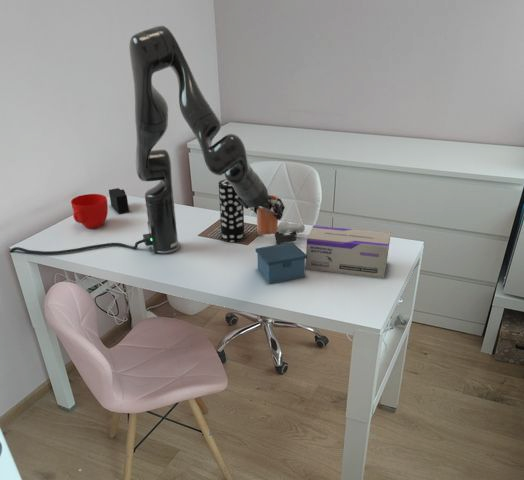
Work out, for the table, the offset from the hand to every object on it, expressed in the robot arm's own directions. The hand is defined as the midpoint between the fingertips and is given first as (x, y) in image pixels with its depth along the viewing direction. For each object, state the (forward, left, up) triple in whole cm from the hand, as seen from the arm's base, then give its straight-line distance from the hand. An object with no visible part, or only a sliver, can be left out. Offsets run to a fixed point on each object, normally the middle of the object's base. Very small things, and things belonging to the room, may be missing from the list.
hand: (270, 215), depth 164 cm
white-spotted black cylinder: (-3, +29, -19) cm, 35 cm away
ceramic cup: (-50, +59, -19) cm, 80 cm away
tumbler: (-1, -1, -4) cm, 5 cm away
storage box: (+2, -4, -18) cm, 19 cm away
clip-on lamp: (+12, +22, -19) cm, 31 cm away
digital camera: (-36, +74, -19) cm, 84 cm away
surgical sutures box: (+24, -7, -19) cm, 31 cm away
